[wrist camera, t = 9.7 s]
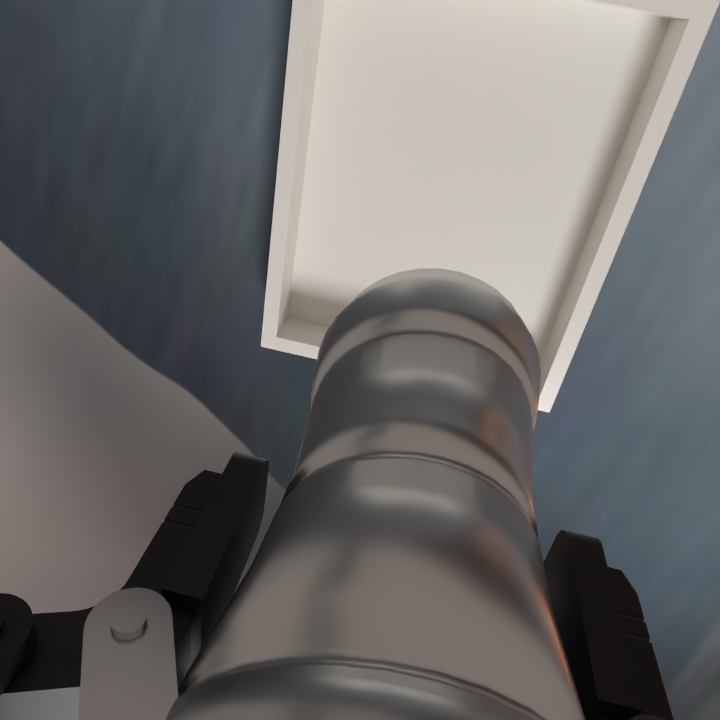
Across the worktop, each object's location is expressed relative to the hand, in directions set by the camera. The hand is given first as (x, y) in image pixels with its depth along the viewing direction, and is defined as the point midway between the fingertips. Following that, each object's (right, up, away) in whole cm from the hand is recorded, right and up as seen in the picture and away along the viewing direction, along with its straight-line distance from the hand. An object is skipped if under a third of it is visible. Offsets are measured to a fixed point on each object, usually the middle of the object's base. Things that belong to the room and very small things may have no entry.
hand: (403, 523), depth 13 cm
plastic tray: (+5, +14, +25) cm, 29 cm away
